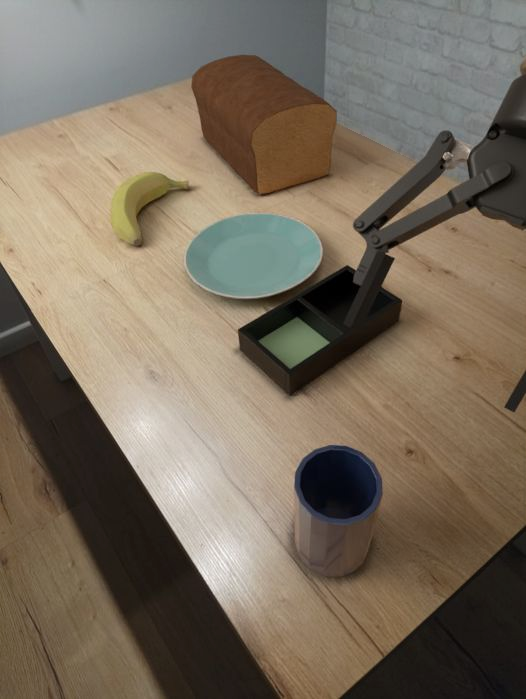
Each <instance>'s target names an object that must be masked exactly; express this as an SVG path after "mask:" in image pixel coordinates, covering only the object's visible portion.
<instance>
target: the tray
mask: <svg viewBox="0 0 526 699" xmlns="http://www.w3.org/2000/svg"><path fill="white" fill-rule="evenodd" d="M356 270H357V269H355V268H353V267H351V266H350V265H348V264H347V265H345V266H343V267H341V268H339V269H338V270H336V271H334V272H332V273H331V274H329V275H327V276H326V277H324V278H322V279H321V280H319V281H317V282H315V283H314V284H312V285H311V286H309V287H307V288H306V289H304V290H302V291H301V292H298V293H297V294H295V295H294V296H292V297H290V298H288V299H287V300H285V301H284V302H282V303H280V304H278V305H277V306H275V307H274V308H272V309H270V310H268V311H267V312H265V313H263V314H261V315H260V316H258V317H257V318H254V319H252V320H251V321H249V322H248V323H246V324H245V325H243V326H241V327H239V328H237V335H238V336H237V337H238V343H239V344H238V345H239V351H240V352H241V353H243V355H244V356H245V357H247V358H248V359H249V360H250V361H251V362H252V363H253V364H254V365H255V366H256V367H257V368H259V370H261V371H262V372H263V373H264V374H265V375H266V376H267V377H269V379H271V380H272V381H273V382H274V383H275V384H276V385H277V386H278V387H279V388H280V389H281V390H282V391H284V393H286V395H288V396H289V397H291V396H292V395H294V394H296V393H297V392H299V391H301V389H303V388H304V387H306V386H307V385H309V384H310V383H312V382H313V381H315V380H316V379H317V378H319V377H320V376H321V375H323V374H324V373H326V372H328V371H329V370H330V369H332V368H333V367H335V366H336V365H338V364H339V363H341V362H342V361H344V360H345V359H346V358H348V357H350V356H351V355H352V354H354V353H355V352H356V351H358V350H360V349H361V348H363V347H364V346H365V345H367V344H368V343H370V342H371V341H373V340H375V338H377V337H379V336H380V335H381V334H383V333H385V332H386V331H387V330H389V329H390V328H392V327H393V326H394V325H396V324H397V323H398V322H399V321H400V317H401V311H402V306H403V301H404V300H403V299H401V298H400V297H398V296H397V295H395V294H393V293H392V292H391V291H390V290H387V289H386V288H385V287H383V286H381V288H380V290H379V292H378V295H377V297H376V299H375V301H374V303H373V305H372V307H371V309H370V311H369V313H368V315H367V317H366V319H365V321H364V323H363V326H362V328H350V327H348V326H346V325H344V324H343V323H344V321H345V318H346V316H347V314H348V312H349V310H350V308H351V306H352V304H353V302H354V299H355V297H356V295H357V293H358V291H359V289H360V287H361V286H360V285H357V284H355V283H353V277H354V274H355V272H356Z"/></svg>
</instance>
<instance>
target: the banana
mask: <svg viewBox="0 0 526 699" xmlns="http://www.w3.org/2000/svg"><path fill="white" fill-rule="evenodd" d="M189 183H190V180H184V181H183V180H182V181H177V180H174V179H172V178H169V177H168V176H167V175H165V174H163V173H161V172H156V171H144V172H141V173H138V174H135V175H133V176H131V177H129V178H128V179H126V180H124V181H123V182H122V183H120V185H119V186H118V187H117V188H116V189H115V191H114V193H113V195H112V197H111V201H110V224H111V227H112V229H113V230H114V233H116V235H117V236H118V237H119V238H120V239H121V240H123V241H124V242H125V243H127V244H130V245H132V246H135V247H136V246H137V247H138V246H140V245H142V243H143V236H142V231H141V228H140V226H139V223H138V220H137V216H138V214H139V213H140V211H141V209H142V208H143V207H144V206H146V205H147V204H149V203H150V202H152V201H154V200H156V199H158V198H160V197H162V196H163V195H165V194H166V193H167V192H168V191H169V190H170V189H174V188H179V189H184V190H186V191H188V190H189Z"/></svg>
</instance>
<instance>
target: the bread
mask: <svg viewBox="0 0 526 699" xmlns="http://www.w3.org/2000/svg"><path fill="white" fill-rule="evenodd" d="M190 84H191V86H190V88H191V91H192V93H193V95H194V98H195V102H196V107H197V111H198V115H199V121H200V128H201V132H202V136H203V138H204V139H205V140H206V142H207V143H208V144H209V145H210V146H211V147H212V148H213V149H214V150H215V151H216V152H217V153H218V154H219V156H220V157H221V158H222V159H223V160H224V161H225V162H226V163H227V164H228V165H229V166H230V167H231V169H232V170H234V172H235V173H236V174H237V175H238V176H239V177H240V178H241V179H242V180H243V181H244V182H246V184H247V185H248V186H249V188H251V189H252V191H254V193H256V194H257V195H266V194H270V193H274V192H278V191H280V190H283V189H287V188H290V187H294V186H298V185H301V184H304V183H307V182H310V181H314V180H317V179H320V178H321V179H322V178H323V177H325V176H327V175H329V174H330V167H331V154H332V146H333V139H334V138H333V137H334V132H335V129H336V126H337V120H338V119H337V117H338V116H337V113H338V112H337V110H336V109H335V108H334V107H333V106H332V105H331V104H330V103H329V102H328V101H326V100H325V99H324V98H322V97H321V96H319V95H317V94H316V93H314V92H313V91H311V90H309V89H308V88H306V87H305V86H302V85H301V84H300V83H298V82H297V81H296V80H294V79H293V78H291V77H289V76H287V75H286V74H284V73H283V71H282V70H279V69H278V68H276V67H274V66H273V65H272V64H271V63H269V62H267V61H266V60H265V59H262V58H261V57H259V56H258V55H256V54H255V55H254V54H237V55H230V56H226V57H221V58H219V59H218V58H217V59H215V60H212V61H210V62H208V63H206V64H204V65H202V66H200V67H199V68H198V69H197V70H196V71H195V72H194V73H193V74H192V76H191V83H190Z"/></svg>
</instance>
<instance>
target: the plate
mask: <svg viewBox="0 0 526 699" xmlns="http://www.w3.org/2000/svg"><path fill="white" fill-rule="evenodd" d="M323 257H324V247H323V244H322V241H321V238H320V237H319V236H318V234H317V233H316V231H315V230H313V228H312V227H310V226H309V225H308V224H306V223H304V222H302V221H301V220H298V219H297V218H293V217H290V216H288V215H285V214H284V215H283V214H279V213H271V212H248V213H241V214H235V215H231V216H227V217H224V218H221V219H219V220H217V221H214V222H212V223H210V224H209V225H207V226H205V227H204V228H203V229H201V230H200V231H199V232H197V233H196V235H195V236H193V238H192V239H191V240H190V242H189V243H188V244H187V246H186V249H185V251H184V254H183V264H184V269H185V271H186V273H187V276H189V278H190V279H191V280H192V281H193V282H194V283H195V284H196V285H197V286H198V287H200V288H201V289H203V290H205V291H207V292H209V293H211V294H213V295H216V296H220V297H223V298H228V299H234V300H235V299H236V300H259V299H264V298H269V297H273V296H276V295H279V294H283V293H285V292H288V291H290V290H292V289H295V288H296V287H297V286H299V285H301V284H302V283H304V282H305V281H307V280H308V279H309V278H311V276H312V275H313V274H315V273H316V271H317V269H318V268H319V267H320V265H321V263H322V260H323Z"/></svg>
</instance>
